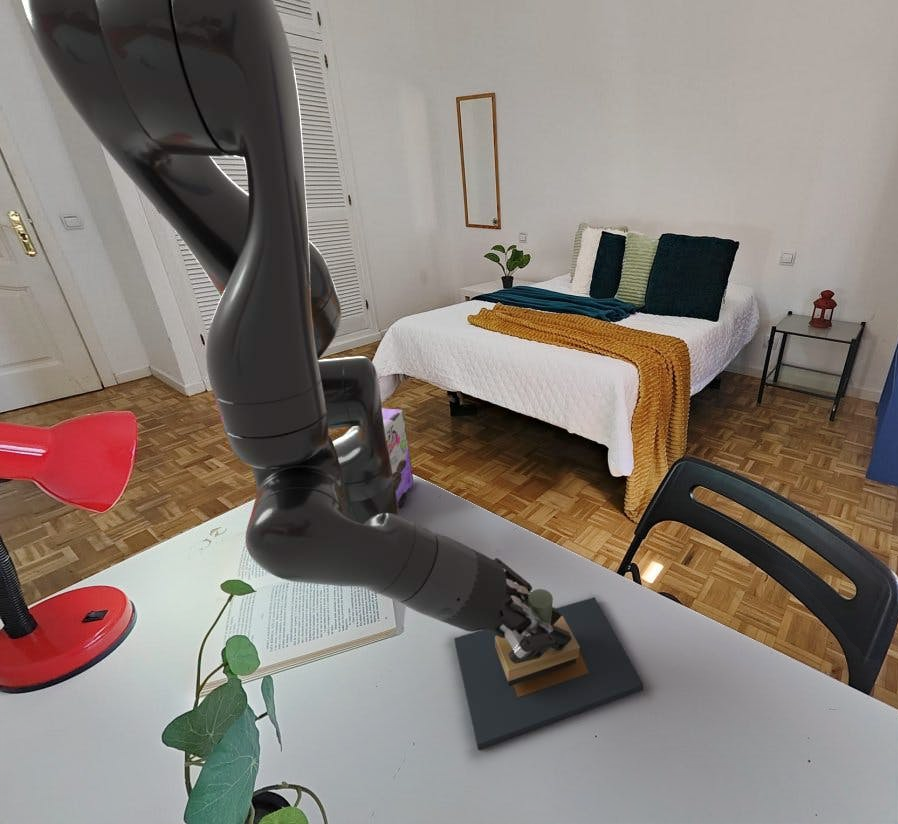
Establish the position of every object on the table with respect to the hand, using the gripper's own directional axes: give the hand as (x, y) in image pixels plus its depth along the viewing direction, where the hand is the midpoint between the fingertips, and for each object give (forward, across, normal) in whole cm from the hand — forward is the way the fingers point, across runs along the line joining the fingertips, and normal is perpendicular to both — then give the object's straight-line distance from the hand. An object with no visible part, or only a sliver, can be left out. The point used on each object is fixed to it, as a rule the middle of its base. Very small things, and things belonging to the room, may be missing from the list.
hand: (560, 629), depth 59 cm
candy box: (-9, +41, +18) cm, 46 cm away
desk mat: (+3, 0, +5) cm, 6 cm away
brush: (0, 0, +5) cm, 5 cm away
